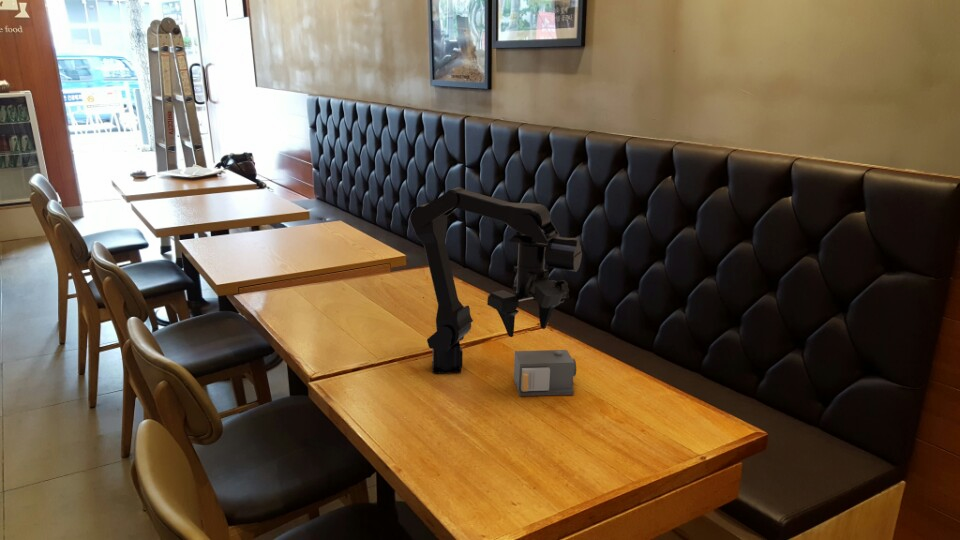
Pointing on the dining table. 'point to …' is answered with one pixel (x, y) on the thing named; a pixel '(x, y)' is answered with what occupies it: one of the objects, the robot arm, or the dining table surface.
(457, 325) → the robot arm
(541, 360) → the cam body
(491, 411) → the dining table surface
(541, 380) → the side door
